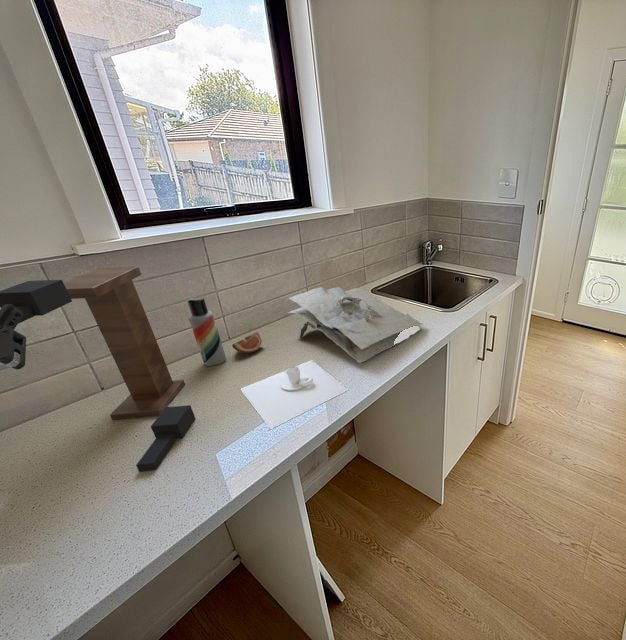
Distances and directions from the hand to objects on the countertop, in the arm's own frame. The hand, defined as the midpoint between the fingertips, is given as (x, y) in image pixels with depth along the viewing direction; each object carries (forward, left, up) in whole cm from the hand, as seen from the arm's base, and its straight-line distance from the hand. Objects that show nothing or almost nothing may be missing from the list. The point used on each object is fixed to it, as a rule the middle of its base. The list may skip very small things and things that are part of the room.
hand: (0, 308), depth 49 cm
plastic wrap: (+68, +13, -34) cm, 77 cm away
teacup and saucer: (+38, -2, -34) cm, 51 cm away
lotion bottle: (+27, +27, -34) cm, 51 cm away
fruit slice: (+36, +26, -34) cm, 56 cm away
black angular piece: (+11, -1, -34) cm, 36 cm away
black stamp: (+1, +1, -2) cm, 3 cm away
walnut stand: (+10, +17, -34) cm, 39 cm away
